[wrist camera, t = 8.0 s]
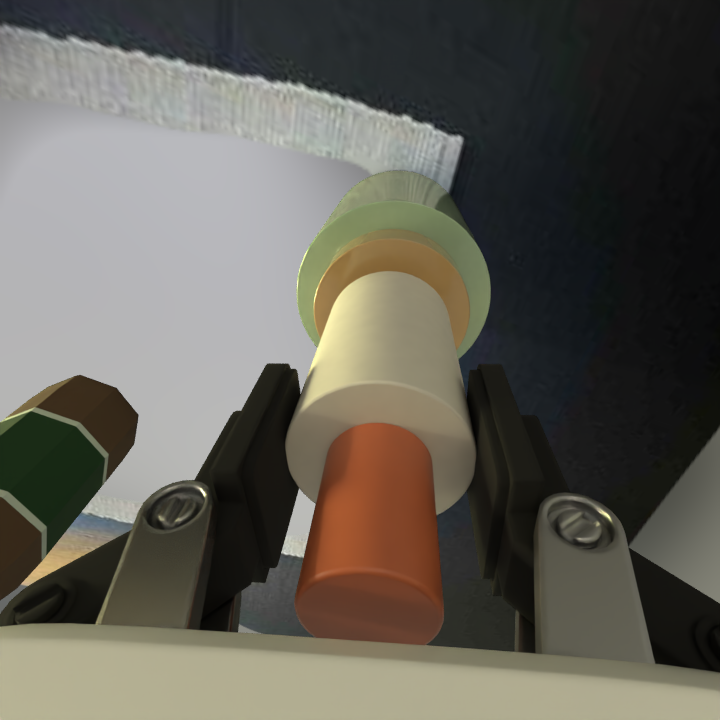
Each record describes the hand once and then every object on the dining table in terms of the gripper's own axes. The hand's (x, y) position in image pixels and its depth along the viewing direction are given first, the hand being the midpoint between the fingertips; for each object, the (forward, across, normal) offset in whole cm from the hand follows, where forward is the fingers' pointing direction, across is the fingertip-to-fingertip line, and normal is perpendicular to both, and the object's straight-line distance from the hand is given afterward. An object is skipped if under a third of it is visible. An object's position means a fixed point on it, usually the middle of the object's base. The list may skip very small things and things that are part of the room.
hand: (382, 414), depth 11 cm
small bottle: (+5, 0, 0) cm, 5 cm away
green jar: (+17, 0, 0) cm, 17 cm away
